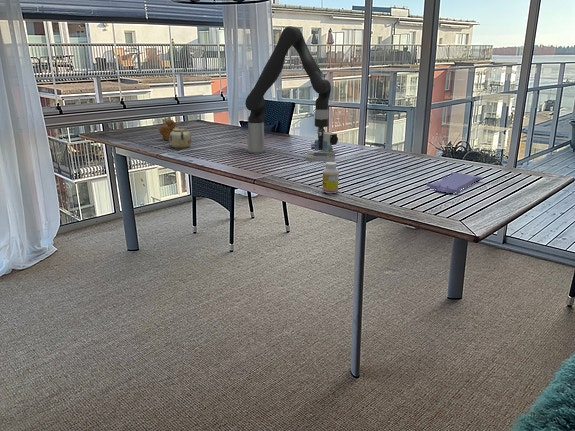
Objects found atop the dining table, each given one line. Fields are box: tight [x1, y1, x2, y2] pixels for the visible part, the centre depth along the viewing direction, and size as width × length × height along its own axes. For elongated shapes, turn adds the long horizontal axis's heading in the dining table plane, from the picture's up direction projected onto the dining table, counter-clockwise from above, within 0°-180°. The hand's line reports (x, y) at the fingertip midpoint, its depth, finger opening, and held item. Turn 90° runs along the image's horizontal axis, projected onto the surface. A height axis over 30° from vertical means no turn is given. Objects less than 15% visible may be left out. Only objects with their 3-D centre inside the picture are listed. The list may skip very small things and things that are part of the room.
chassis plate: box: [304, 150, 336, 162], centre depth 262 cm, size 16×15×2 cm
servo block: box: [310, 139, 332, 152], centre depth 259 cm, size 11×4×5 cm, turn 83°
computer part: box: [426, 171, 484, 194], centre depth 209 cm, size 30×4×15 cm
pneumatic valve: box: [323, 130, 339, 152], centre depth 277 cm, size 6×12×12 cm, turn 36°
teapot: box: [169, 125, 193, 150], centre depth 286 cm, size 20×14×13 cm
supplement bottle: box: [321, 161, 340, 194], centre depth 197 cm, size 7×7×13 cm
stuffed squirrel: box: [157, 119, 178, 142], centre depth 310 cm, size 10×14×13 cm
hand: (320, 148), depth 260 cm, fingers closed on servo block, 4 cm apart
